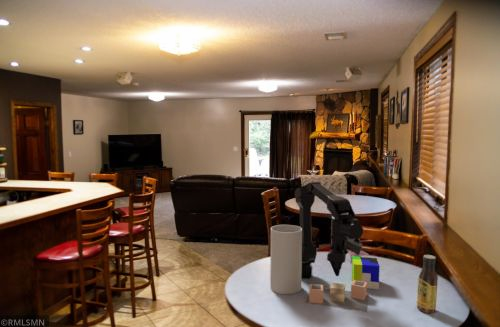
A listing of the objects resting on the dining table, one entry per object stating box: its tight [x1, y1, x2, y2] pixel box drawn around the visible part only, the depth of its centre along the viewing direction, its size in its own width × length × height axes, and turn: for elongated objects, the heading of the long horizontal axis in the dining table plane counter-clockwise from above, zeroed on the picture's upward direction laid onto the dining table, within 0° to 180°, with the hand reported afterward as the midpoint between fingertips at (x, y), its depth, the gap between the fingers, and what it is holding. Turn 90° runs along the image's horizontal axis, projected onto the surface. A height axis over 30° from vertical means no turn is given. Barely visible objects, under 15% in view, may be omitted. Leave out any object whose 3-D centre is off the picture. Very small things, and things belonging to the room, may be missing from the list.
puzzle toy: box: [351, 256, 380, 290], centre depth 159 cm, size 10×10×10 cm
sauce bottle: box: [416, 254, 439, 314], centre depth 135 cm, size 6×6×20 cm
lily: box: [347, 250, 369, 262], centre depth 186 cm, size 12×12×10 cm
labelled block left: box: [308, 283, 324, 304], centre depth 143 cm, size 5×5×5 cm
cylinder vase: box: [269, 224, 302, 295], centre depth 153 cm, size 12×12×25 cm
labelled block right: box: [350, 280, 368, 300], centre depth 146 cm, size 5×5×5 cm
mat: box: [304, 287, 370, 313], centre depth 145 cm, size 22×16×1 cm
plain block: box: [329, 282, 346, 302], centre depth 144 cm, size 5×5×5 cm
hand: (338, 272), depth 143 cm, fingers open, 7 cm apart
